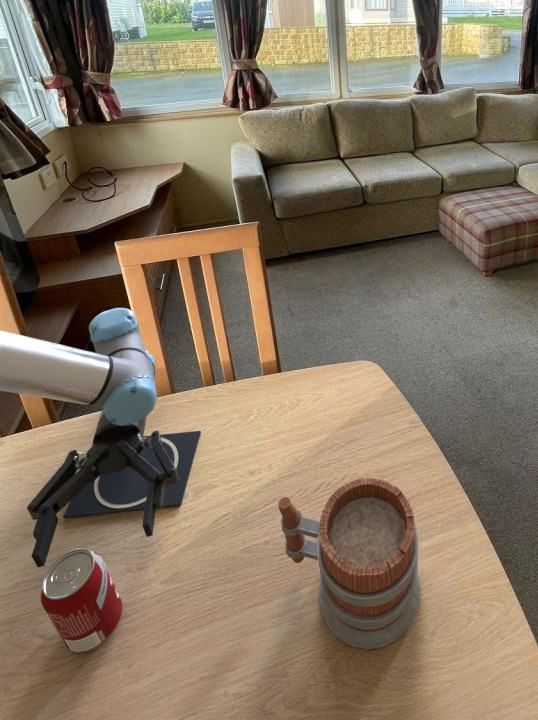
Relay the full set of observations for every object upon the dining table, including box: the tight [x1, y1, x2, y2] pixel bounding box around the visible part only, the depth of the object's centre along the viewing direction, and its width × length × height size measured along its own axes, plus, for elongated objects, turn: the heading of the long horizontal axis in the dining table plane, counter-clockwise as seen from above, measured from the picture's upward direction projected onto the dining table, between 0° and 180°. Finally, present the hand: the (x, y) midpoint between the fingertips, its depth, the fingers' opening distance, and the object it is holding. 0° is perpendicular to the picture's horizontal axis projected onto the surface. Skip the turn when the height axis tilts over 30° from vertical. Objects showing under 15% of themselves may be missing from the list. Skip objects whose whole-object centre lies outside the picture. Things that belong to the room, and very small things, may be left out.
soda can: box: [40, 547, 123, 654], centre depth 61 cm, size 7×7×12 cm
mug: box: [277, 477, 422, 650], centre depth 65 cm, size 14×19×15 cm
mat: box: [62, 430, 202, 520], centre depth 83 cm, size 18×14×1 cm
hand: (93, 545), depth 66 cm, fingers open, 13 cm apart
